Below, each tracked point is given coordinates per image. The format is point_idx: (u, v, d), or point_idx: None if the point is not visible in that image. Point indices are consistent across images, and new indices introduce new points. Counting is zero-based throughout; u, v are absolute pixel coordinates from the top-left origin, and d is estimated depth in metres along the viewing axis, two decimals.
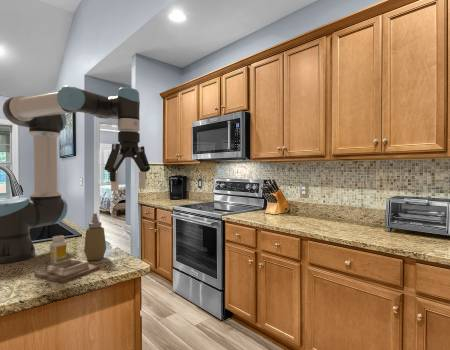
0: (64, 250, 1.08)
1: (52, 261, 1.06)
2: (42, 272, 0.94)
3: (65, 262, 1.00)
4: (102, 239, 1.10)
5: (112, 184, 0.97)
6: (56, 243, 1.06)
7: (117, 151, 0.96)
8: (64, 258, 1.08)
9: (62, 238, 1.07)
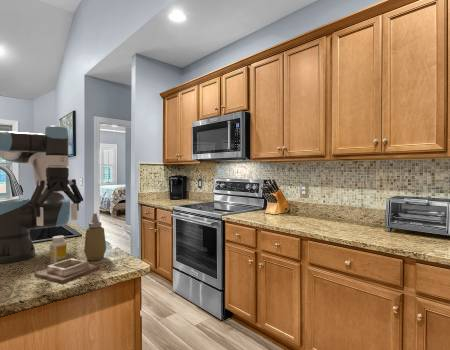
0: (64, 250, 1.08)
1: (52, 261, 1.06)
2: (42, 272, 0.94)
3: (65, 262, 1.00)
4: (102, 239, 1.10)
5: (37, 219, 1.01)
6: (56, 243, 1.06)
7: (41, 187, 1.01)
8: (64, 258, 1.08)
9: (62, 238, 1.07)
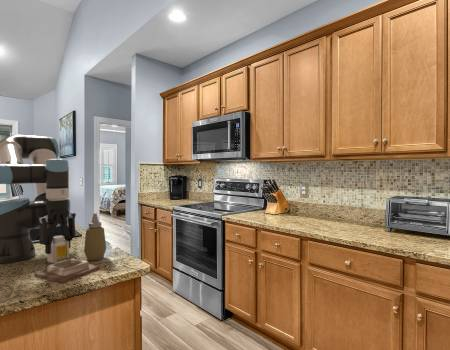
0: (64, 250, 1.07)
1: None
2: (42, 272, 0.94)
3: (65, 262, 1.00)
4: (102, 239, 1.10)
5: (48, 255, 1.05)
6: (56, 243, 1.06)
7: (45, 225, 1.02)
8: (64, 258, 1.08)
9: (62, 238, 1.07)
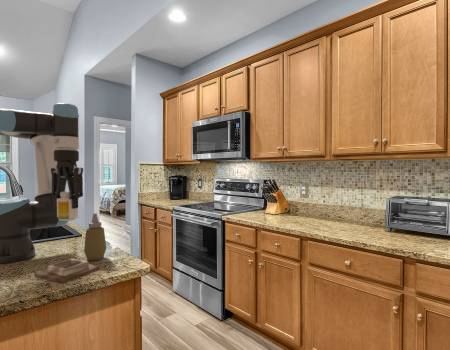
0: (61, 207, 0.94)
1: None
2: (42, 272, 0.94)
3: (65, 262, 1.00)
4: (102, 239, 1.10)
5: None
6: (59, 198, 0.96)
7: (52, 175, 0.97)
8: (61, 217, 0.94)
9: (62, 193, 0.94)
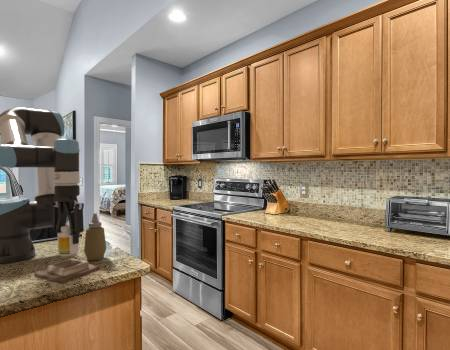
0: (61, 243, 0.94)
1: None
2: (42, 272, 0.94)
3: (65, 262, 1.00)
4: (102, 239, 1.10)
5: None
6: (60, 233, 0.96)
7: (53, 210, 0.97)
8: (62, 252, 0.94)
9: (62, 229, 0.94)
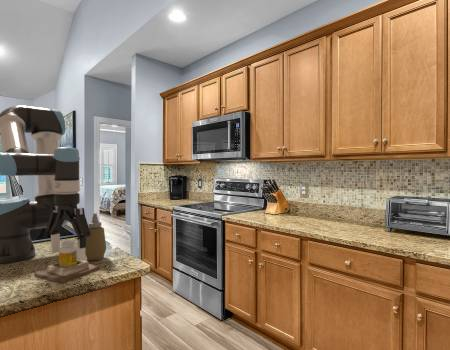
0: (62, 259, 0.94)
1: None
2: (42, 272, 0.94)
3: None
4: (102, 239, 1.10)
5: None
6: (60, 248, 0.96)
7: (51, 214, 0.98)
8: None
9: (63, 244, 0.94)
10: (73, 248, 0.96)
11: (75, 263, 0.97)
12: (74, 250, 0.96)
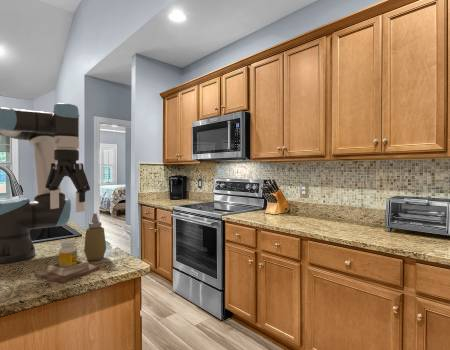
0: (62, 259, 0.94)
1: None
2: (42, 272, 0.94)
3: None
4: (102, 239, 1.10)
5: None
6: None
7: (51, 170, 1.00)
8: None
9: (63, 244, 0.95)
10: (73, 248, 0.96)
11: (75, 263, 0.97)
12: (74, 250, 0.96)
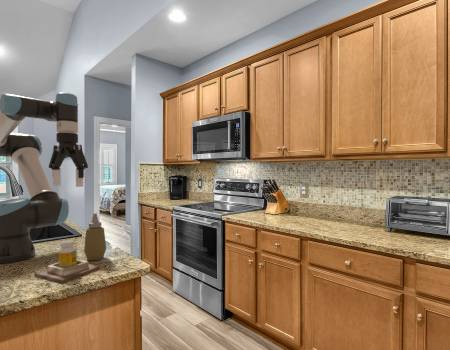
0: (62, 259, 0.94)
1: None
2: (42, 272, 0.94)
3: None
4: (102, 239, 1.10)
5: None
6: (60, 248, 0.96)
7: (53, 152, 1.14)
8: None
9: (63, 244, 0.95)
10: (72, 248, 0.96)
11: (75, 263, 0.97)
12: (74, 250, 0.96)
